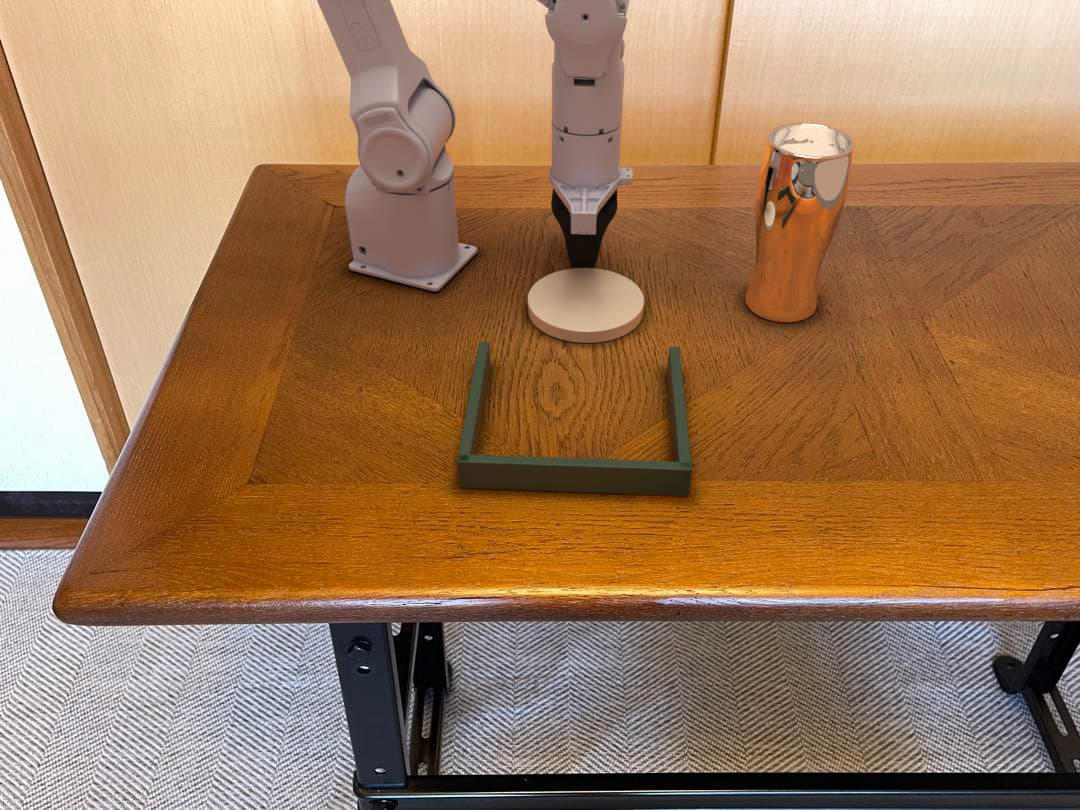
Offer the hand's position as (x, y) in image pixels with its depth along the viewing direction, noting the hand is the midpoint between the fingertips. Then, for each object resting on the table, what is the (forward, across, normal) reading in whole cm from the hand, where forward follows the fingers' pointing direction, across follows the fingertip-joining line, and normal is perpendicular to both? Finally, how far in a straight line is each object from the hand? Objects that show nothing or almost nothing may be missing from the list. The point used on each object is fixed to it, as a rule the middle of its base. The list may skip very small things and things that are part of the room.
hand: (582, 266), depth 84 cm
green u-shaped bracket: (+1, -21, 0) cm, 21 cm away
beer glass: (+1, -4, -17) cm, 18 cm away
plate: (+1, -6, 0) cm, 6 cm away
